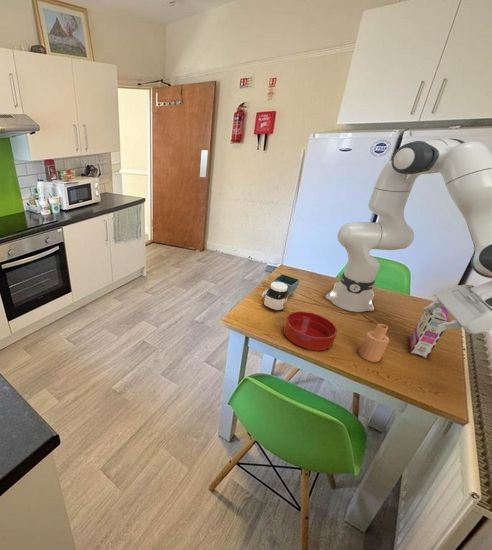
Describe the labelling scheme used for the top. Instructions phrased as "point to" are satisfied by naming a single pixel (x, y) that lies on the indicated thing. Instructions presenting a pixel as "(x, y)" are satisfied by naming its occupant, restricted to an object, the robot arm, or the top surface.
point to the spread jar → (276, 296)
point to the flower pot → (288, 282)
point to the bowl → (310, 330)
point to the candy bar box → (428, 332)
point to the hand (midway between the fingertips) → (431, 318)
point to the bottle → (374, 344)
